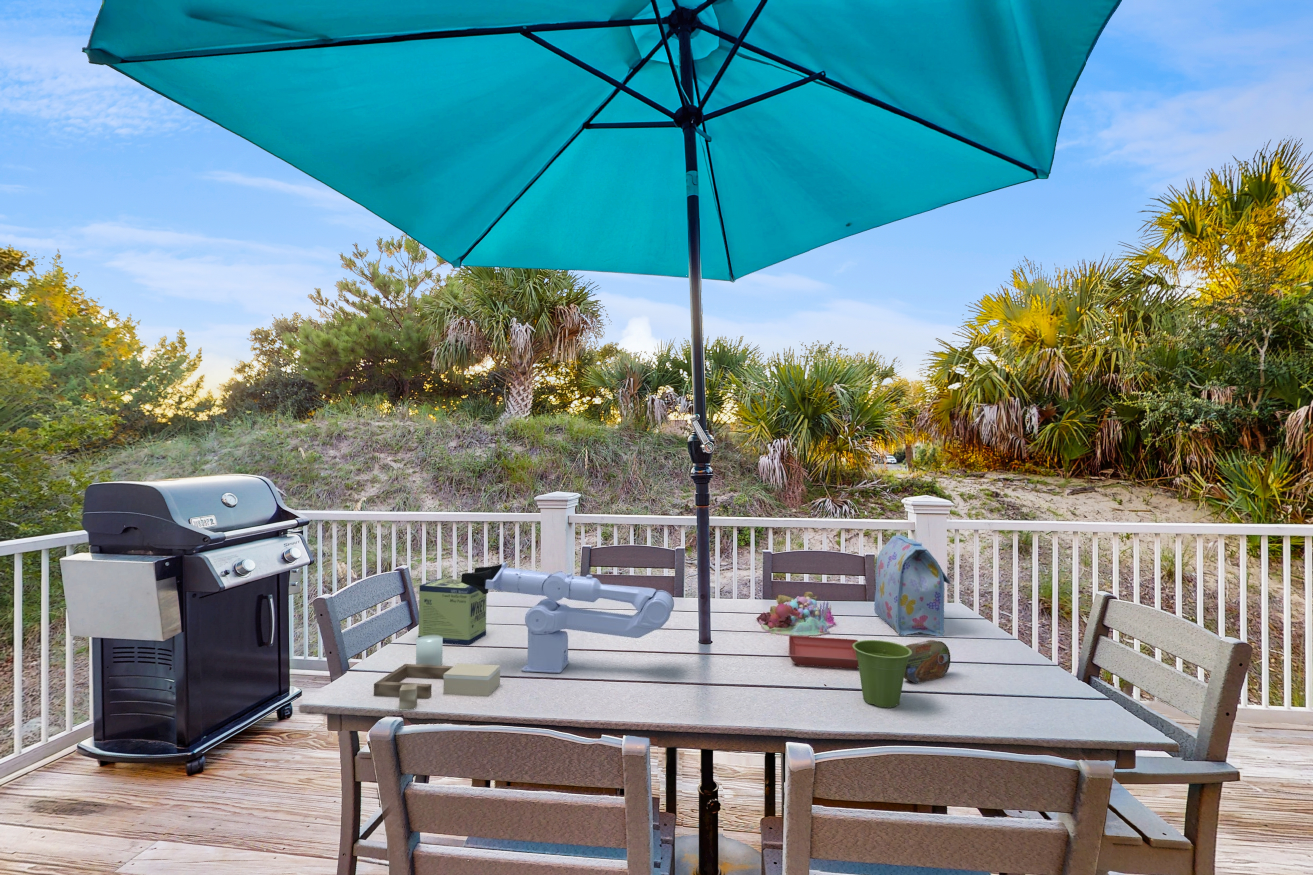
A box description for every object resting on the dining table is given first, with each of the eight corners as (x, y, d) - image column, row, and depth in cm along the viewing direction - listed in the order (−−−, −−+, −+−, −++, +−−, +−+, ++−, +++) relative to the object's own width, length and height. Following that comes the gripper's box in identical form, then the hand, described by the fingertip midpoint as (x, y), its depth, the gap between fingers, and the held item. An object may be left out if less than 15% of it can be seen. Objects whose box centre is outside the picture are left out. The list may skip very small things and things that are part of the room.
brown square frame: (454, 677, 148) (454, 666, 148) (428, 698, 135) (428, 686, 135) (404, 674, 150) (405, 663, 150) (373, 695, 137) (373, 683, 137)
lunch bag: (955, 637, 182) (955, 544, 183) (896, 637, 183) (896, 543, 183) (923, 617, 205) (923, 534, 206) (871, 616, 205) (870, 533, 206)
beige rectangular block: (500, 685, 144) (500, 665, 144) (488, 697, 137) (488, 676, 137) (457, 683, 145) (457, 663, 145) (443, 695, 138) (443, 674, 138)
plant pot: (880, 716, 127) (880, 659, 127) (840, 695, 138) (840, 643, 138) (925, 707, 132) (924, 652, 132) (883, 688, 143) (883, 637, 143)
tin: (906, 685, 144) (906, 648, 145) (895, 681, 147) (895, 644, 147) (951, 675, 151) (951, 639, 152) (940, 671, 154) (940, 636, 154)
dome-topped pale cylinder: (446, 664, 157) (446, 635, 158) (435, 672, 151) (435, 642, 152) (423, 662, 158) (423, 634, 158) (411, 671, 152) (411, 641, 152)
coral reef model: (748, 616, 206) (748, 587, 206) (819, 614, 209) (819, 586, 209) (771, 638, 181) (771, 606, 182) (851, 636, 184) (850, 604, 184)
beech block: (417, 703, 133) (417, 683, 133) (414, 708, 130) (415, 689, 130) (401, 704, 132) (401, 684, 132) (399, 710, 129) (399, 690, 129)
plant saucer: (788, 646, 174) (788, 634, 175) (857, 651, 171) (857, 638, 171) (788, 668, 157) (788, 654, 157) (865, 673, 153) (865, 659, 153)
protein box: (469, 645, 172) (470, 587, 173) (417, 641, 176) (418, 584, 176) (487, 634, 183) (488, 580, 183) (437, 631, 186) (438, 577, 186)
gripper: (532, 560, 164) (481, 554, 165) (512, 570, 149) (457, 563, 151) (529, 587, 164) (479, 581, 165) (510, 600, 149) (454, 593, 151)
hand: (468, 574), depth 158 cm, fingers open, 7 cm apart
